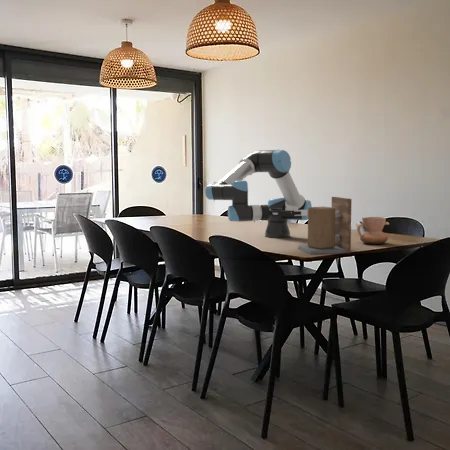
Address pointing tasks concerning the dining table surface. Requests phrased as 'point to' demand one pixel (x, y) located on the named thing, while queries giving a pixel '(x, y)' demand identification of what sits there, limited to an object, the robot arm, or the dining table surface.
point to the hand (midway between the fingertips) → (302, 211)
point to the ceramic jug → (373, 230)
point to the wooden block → (321, 227)
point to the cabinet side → (342, 222)
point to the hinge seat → (321, 250)
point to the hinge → (362, 229)
